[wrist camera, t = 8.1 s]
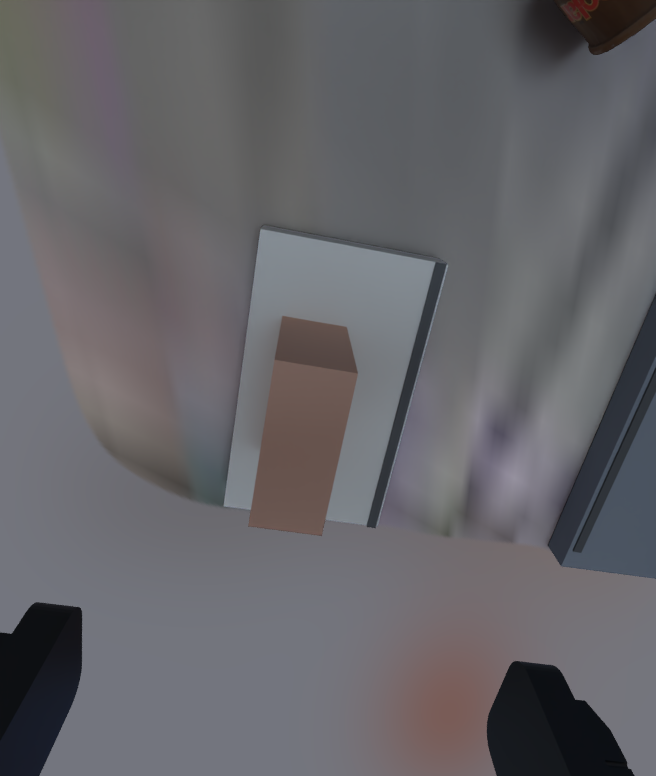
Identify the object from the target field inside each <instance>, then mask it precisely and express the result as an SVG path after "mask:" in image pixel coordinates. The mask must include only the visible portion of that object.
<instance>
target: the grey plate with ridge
mask: <svg viewBox="0 0 656 776" xmlns="http://www.w3.org/2000/svg"><path fill="white" fill-rule="evenodd" d="M548 546H549V548H550V549H551V551H552V553H553V554H554V556H555V557H556V559H557V560H558V562H559V564H560V565H561V566H563V567H571V568H579V569H586V570H594V571H602V572H609V573H618V574H625V575H633V576H640V577H648V578H655V579H656V296H655V298H654V301H653V303H652V305H651V308H650V310H649V312H648V315H647V317H646V319H645V322H644V324H643V326H642V329H641V331H640V333H639V336H638V338H637V340H636V343H635V345H634V347H633V350H632V352H631V354H630V357H629V359H628V361H627V363H626V366H625V368H624V370H623V373H622V375H621V377H620V380H619V382H618V384H617V387H616V389H615V391H614V394H613V396H612V398H611V401H610V403H609V405H608V408H607V410H606V412H605V415H604V417H603V419H602V422H601V424H600V426H599V429H598V431H597V433H596V436H595V438H594V440H593V442H592V445H591V447H590V449H589V452H588V454H587V456H586V459H585V461H584V463H583V466H582V468H581V470H580V473H579V475H578V477H577V480H576V482H575V484H574V487H573V489H572V491H571V494H570V496H569V498H568V501H567V503H566V505H565V508H564V510H563V512H562V515H561V517H560V519H559V521H558V524H557V526H556V528H555V531H554V533H553V535H552V538H551V540H550V542H549V545H548Z"/></svg>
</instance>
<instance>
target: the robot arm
mask: <svg viewBox="0 0 656 776" xmlns="http://www.w3.org/2000/svg"><path fill="white" fill-rule="evenodd" d="M81 669H82V611H81V608H79V607H73V606H64V605H56V604H47V603H39V602H36V603H34V604H33V605H32V606H31V607H30V608H29V609H28V610H27V612H26V613H25V615H24V616H23V618H22V619H21V621H20V623H19V624H18V625H17V627H16V628H15V630H14V631H13V633H12V634H7V633H0V776H39V775H40V773H41V770H42V769H43V766H44V764H45V762H46V760H47V758H48V756H49V753H50V751H51V749H52V747H53V745H54V743H55V740H56V738H57V736H58V734H59V732H60V730H61V727H62V725H63V723H64V721H65V718H66V717H67V714H68V712H69V710H70V708H71V705H72V703H73V700H74V698H75V695H76V692H77V688H78V685H79V681H80V676H81ZM487 740H488V746H489V751H490V755H491V758H492V761H493V765H494V768H495V771H496V775H497V776H634V774H633V772H632V770H631V769H628V767H627V761H626V759H625V757H624V755H623V754H622V751H621V749H620V748H619V746H618V744H617V742H616V740H615V738H614V736H613V734H612V732H611V730H610V729H609V728H608V727H607V726H606V725H605V723H604V722H603V721H602V720H601V719H600V717H599V716H598V715H597V714H596V713H595V712H594V711H593V709H592V708H591V707H590V706H589V705H588V704H587V703H586V701H582V700H575V698H574V696H573V694H572V693H571V691H570V688H569V686H568V684H567V682H566V680H565V678H564V676H563V674H562V673H561V672H560V670H559V669H558V668H557V667H555V666H553V665H545V664H536V663H529V662H520V661H515V662H513V663H512V664H511V665H510V667H509V669H508V671H507V673H506V676H505V678H504V680H503V683H502V685H501V687H500V689H499V692H498V694H497V696H496V699H495V701H494V703H493V705H492V708H491V710H490V713H489V716H488V721H487Z"/></svg>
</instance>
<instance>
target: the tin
mask: <svg viewBox="0 0 656 776" xmlns="http://www.w3.org/2000/svg"><path fill="white" fill-rule="evenodd" d="M554 2H555V3H556V4H557V6H558V7H559V8H560V10H561V11H562V13H563V14H564V15H565V16H566V17H567V18H568V20H569V21H570V22H571V23H572V24H573V25H574V27H575V28H576V29H577V30H578V31H579V32H580V34H581V35H582V36H583V37H584V38H585V40H586V41H587V42H588V43H589V46H588V48H589V51H590V52H591V53H592V54H594V55H599V54H602V53H604V52H608V51H609V50H611V49H613V48H614V47H616V46H618V45H619V44H621V43H622V42H624V41H626V40H627V39H628V38H630V37H631V36H633V35H635V34H636V33H638V32H639V31H640V30H642V29H643V28H644V27H646V26H647V25H648V24H649V23H650V22H652V21H653V20H655V19H656V0H554Z"/></svg>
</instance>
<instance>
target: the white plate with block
mask: <svg viewBox="0 0 656 776" xmlns="http://www.w3.org/2000/svg"><path fill="white" fill-rule="evenodd" d="M448 265H449V264H447V263H446V262H444V261H443V260H441V259H440V258H435V257H430V256H425V255H419V254H414V253H409V252H404V251H398V250H393V249H388V248H383V247H377V246H372V245H367V244H362V243H356V242H351V241H346V240H341V239H335V238H330V237H325V236H320V235H314V234H309V233H304V232H299V231H293V230H288V229H283V228H278V227H272V226H267V225H263V226H262V228H261V229H260V236H259V244H258V251H257V259H256V266H255V274H254V281H253V289H252V296H251V304H250V311H249V319H248V326H247V334H246V342H245V349H244V357H243V364H242V372H241V379H240V387H239V394H238V402H237V409H236V417H235V424H234V432H233V439H232V447H231V454H230V462H229V469H228V477H227V484H226V492H225V500H224V506H225V507H233V508H240V509H248V510H251V512H250V519H249V527H257V528H265V529H272V530H281V531H288V532H296V533H303V534H311V535H319V536H322V532H323V528H324V523H325V520H330V521H337V522H345V523H352V524H360V525H367V527H372V528H376V527H377V526H378V523H379V519H380V515H381V512H382V508H383V504H384V501H385V497H386V493H387V490H388V486H389V482H390V479H391V475H392V471H393V467H394V464H395V460H396V456H397V453H398V449H399V445H400V442H401V438H402V434H403V431H404V427H405V423H406V420H407V416H408V412H409V409H410V405H411V401H412V398H413V394H414V390H415V387H416V383H417V379H418V375H419V372H420V368H421V364H422V361H423V357H424V353H425V350H426V346H427V342H428V339H429V335H430V331H431V328H432V324H433V320H434V317H435V313H436V309H437V306H438V302H439V298H440V295H441V291H442V287H443V283H444V280H445V276H446V272H447V269H448Z"/></svg>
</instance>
